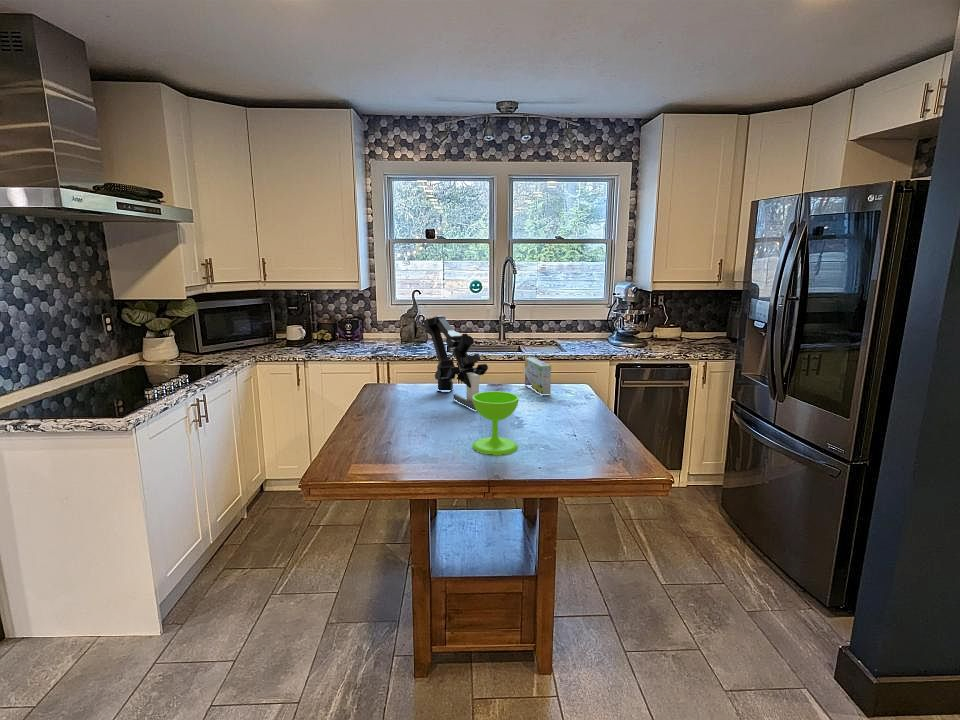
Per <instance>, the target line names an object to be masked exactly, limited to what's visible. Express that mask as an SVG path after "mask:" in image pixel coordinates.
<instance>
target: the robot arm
mask: <svg viewBox="0 0 960 720" xmlns="http://www.w3.org/2000/svg"><path fill="white" fill-rule="evenodd" d="M423 326H424V328H425V330H426V333H427V334H428V335H430V336H431V340H432V343H433V347H434V349H435V354H436V357H437V360H438V363H437V365H436V367H437V370H436V371H435V374H434V377H435V378H434V379H435V380H437V390H438V389H439V390H452V389H453V390H454V382H453V380H455V379H456V380H459V381H460V382H462V383H463V384H465V386H466V387H467V386H468V387H469V388H471V384H470V382H469V379H468V377H467V374H469V373H475V374H477V375H479V376H483V375H485V374H486V373H487V371H488V369H489V366H488V364H487V363H479V361H481V356H480V354H479V353H475V354H473V355H469V354H468V352H469V351H470V350H471V348H472V346H473V345H474V342H475V341H474V338H473V337H472V336H471V335H468V333H462V334H461V333H460V332H458V331H455V330H454V328H452V325H451V324H450V323H449V321H447V319H446V316H445V315H436V316H433V317H429V318H425V320H424V321H423ZM442 334H443V335H444V337H445V343H446V345H447V347H448V348H449V349H452V348H453V350H452V353H451V355H452V357H455V360H456V366H455V363H454V360H453V359H450V358H449V356H448V353H447V350H446V346H445V343H444V339H443V337H442ZM476 363H478V364H477V366H476V367H474V366H475V365H476Z"/></svg>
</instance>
